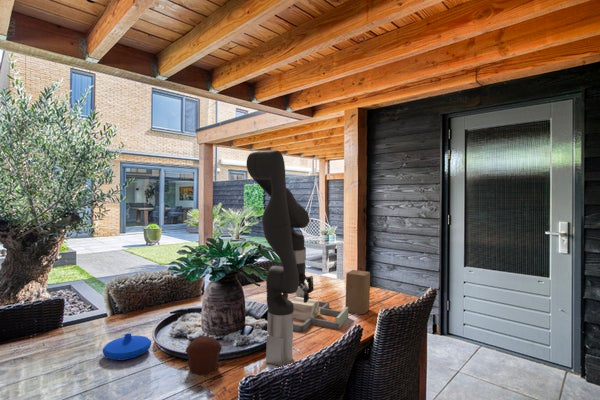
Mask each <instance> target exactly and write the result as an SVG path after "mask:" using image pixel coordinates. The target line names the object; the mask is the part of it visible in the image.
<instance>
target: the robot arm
mask: <svg viewBox="0 0 600 400" xmlns="http://www.w3.org/2000/svg"><path fill="white" fill-rule="evenodd" d="M246 170H247V172H248V175H250V177H251V178H252V180H253V181H255V183H256V184H257V185H258V186H260V188H261V189H262V190H263V191H264V192H265V193H266V194H267V195H268V196H269V197H270V198H269V201H268V203H267V205H266V207H265V209H264V211H263V213H262V219H261V222H262V228H263V229H262V230H263V235H264V238H265V239H266V242H267V243H268V245H269V246H270V247H271V248H272V250H273V251H274V253H275V254H276V255H277V257H278V258H279V261H280V262H281V265H271V267H269V269H268V270H267V271H268V272H267V273H266V280H265V281H266V283H265V284H266V287H265V288H266V305H267V329H266V330H267V335H266V346H265V347H266V353H265V363H267V364H272V365H275V366H279V367H283V366H285V365H287V364H289V363H291V362H292V361H293V349H294V348H293V345H294V343H293V342H294V341H293V340H294V330H293V320H294V318H293V314H294V305H293V303H292V302H291V300H289V298H288V297H289V295H293V294H296V293H295V292H296V291H297V289H298V287H300V288H301V289H302V290H303V292H304V303H306V302H307V301H308V300H309V299H310V294H311V293H312V292H314V290H315V289H314V277H313V275H310V276H307V275H306V251H305V250H306V249H305V236H304V235H303V234H302V233H299V232H297V231H296V230H295V229H304V228H307V227H308V226H309V223H310V215H309V212H307V210H306V209H305V208H304V207H303V206H302V205H301V204H300V203H298V202H297V200H296V198H295V196H294V195H293V193H292V192H291V190H290V189H289V188H288V187H286V185H287V184H286V183H287V182H286V181H287V180H286V179H287V178H286V165H285V159H284V155H283V153H282V152H281V151H280V150H276V149H274V150H273V149H272V150H256V151H251V152H250V153H249V154H248V155H247V159H246ZM305 281H306V282H307V283H306V282H305ZM306 284H307V285H306Z"/></svg>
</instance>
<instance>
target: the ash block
mask: <svg viewBox="0 0 600 400" xmlns="http://www.w3.org/2000/svg"><path fill="white" fill-rule="evenodd" d="M290 301H291V302H292V303H293V305H294V314H293V319H295V320H296V319H297V320H299V321H300V320H302V321H306V320H308V319H309V318H315V319H317V317H318V316H319V314H320V312H319V301H320V300H318V299H315V298H309V300H308V301H307V302H306V303H304V298H302V297H297V296H296V297H294V298H292V299H291V300H290Z"/></svg>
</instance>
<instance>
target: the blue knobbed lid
mask: <svg viewBox="0 0 600 400" xmlns="http://www.w3.org/2000/svg"><path fill="white" fill-rule="evenodd" d="M151 345H152V341H151V339H150V338H149V337H147V336H144V335H132V333H126V334H124V335H123V337H118V338H116V339H113V340H111V341H109V342H108V343H106V344H105V346H104V347H103V348H102V354H103V356H104V357H105V358H107V359H111V360H115V361H116V360H118V361H119V360H120V361H122V360H123V361H124V360H129V359H130V360H131V359H133V358H136V357H139V356H141V355H143V354H145V353H146V352H148V351H149V349H150V347H151Z"/></svg>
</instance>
